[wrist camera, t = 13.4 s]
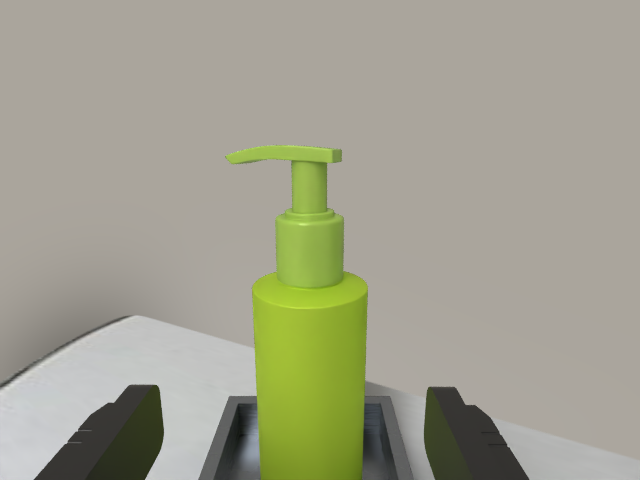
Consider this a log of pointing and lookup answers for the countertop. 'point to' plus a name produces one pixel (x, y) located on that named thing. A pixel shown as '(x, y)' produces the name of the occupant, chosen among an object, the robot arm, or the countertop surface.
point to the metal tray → (243, 443)
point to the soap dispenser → (309, 333)
